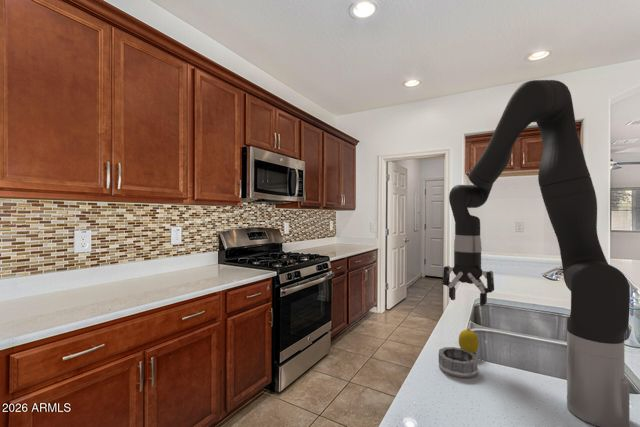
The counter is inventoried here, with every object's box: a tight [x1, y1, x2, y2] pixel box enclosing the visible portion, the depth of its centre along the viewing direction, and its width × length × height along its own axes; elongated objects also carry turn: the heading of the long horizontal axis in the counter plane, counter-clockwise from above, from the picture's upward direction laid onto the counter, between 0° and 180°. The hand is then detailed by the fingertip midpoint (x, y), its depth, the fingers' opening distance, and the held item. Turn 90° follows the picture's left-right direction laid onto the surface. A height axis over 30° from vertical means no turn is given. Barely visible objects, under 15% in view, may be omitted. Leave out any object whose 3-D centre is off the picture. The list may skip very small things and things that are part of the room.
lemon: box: [458, 328, 480, 354], centre depth 94 cm, size 6×6×8 cm
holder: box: [438, 346, 479, 380], centre depth 85 cm, size 10×10×4 cm
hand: (467, 302), depth 94 cm, fingers open, 8 cm apart
